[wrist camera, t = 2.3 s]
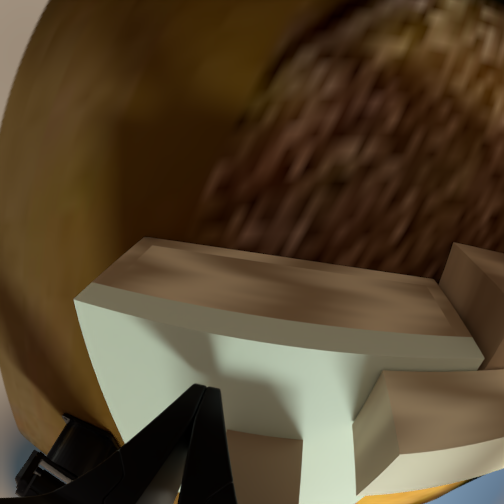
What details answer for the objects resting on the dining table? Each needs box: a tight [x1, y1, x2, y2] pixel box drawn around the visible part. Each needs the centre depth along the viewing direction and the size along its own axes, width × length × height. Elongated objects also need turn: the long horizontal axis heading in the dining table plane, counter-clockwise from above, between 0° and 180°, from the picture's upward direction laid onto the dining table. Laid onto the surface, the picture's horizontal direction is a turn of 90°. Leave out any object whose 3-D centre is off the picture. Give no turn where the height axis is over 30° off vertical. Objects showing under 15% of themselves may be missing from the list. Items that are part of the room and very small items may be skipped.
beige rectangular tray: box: [93, 237, 504, 371], centre depth 13 cm, size 26×18×6 cm
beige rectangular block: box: [352, 369, 504, 496], centre depth 7 cm, size 8×3×3 cm, turn 85°
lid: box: [74, 282, 485, 504], centre depth 11 cm, size 14×16×6 cm
